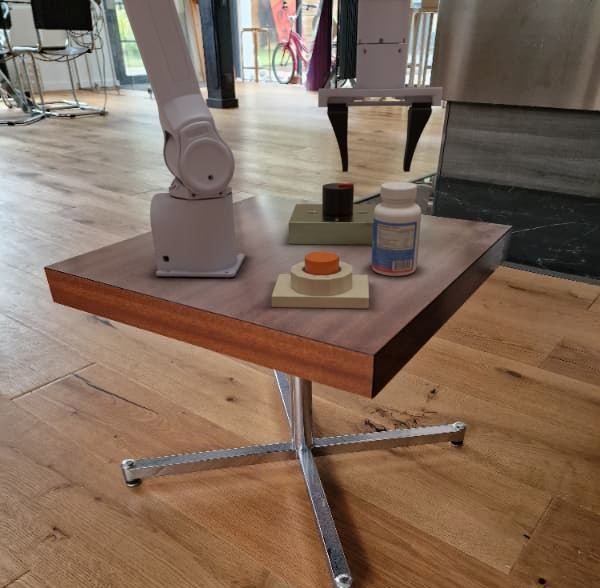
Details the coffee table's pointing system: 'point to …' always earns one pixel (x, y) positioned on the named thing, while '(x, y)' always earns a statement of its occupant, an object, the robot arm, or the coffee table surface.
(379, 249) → the pill bottle
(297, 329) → the coffee table surface
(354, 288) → the switch block
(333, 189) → the dial
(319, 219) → the panel
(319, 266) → the button
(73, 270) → the coffee table surface
